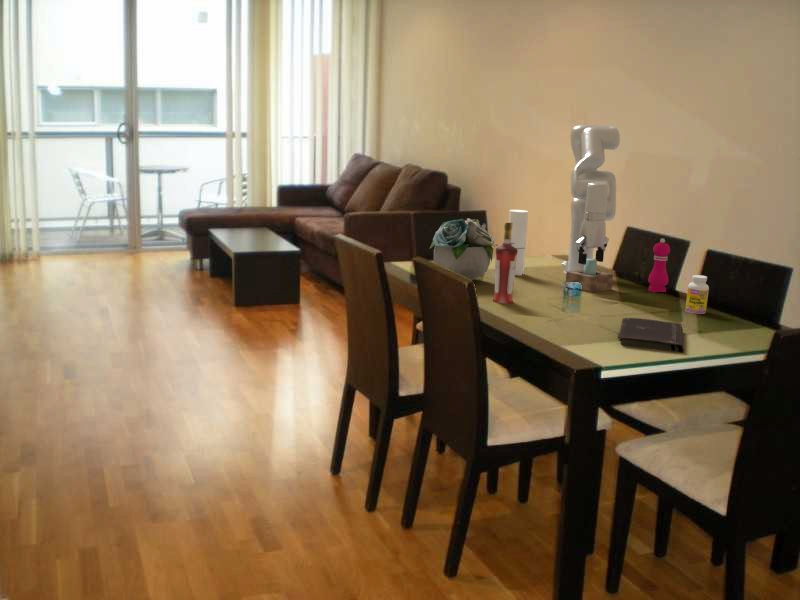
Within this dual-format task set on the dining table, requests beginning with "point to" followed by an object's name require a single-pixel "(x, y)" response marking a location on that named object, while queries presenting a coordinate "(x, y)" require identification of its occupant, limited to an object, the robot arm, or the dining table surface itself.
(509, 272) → the liquor
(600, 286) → the socket block
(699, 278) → the supplement bottle
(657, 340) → the diary
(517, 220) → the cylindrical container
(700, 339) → the dining table surface
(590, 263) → the peg
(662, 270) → the pepper mill
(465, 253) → the flower arrangement
